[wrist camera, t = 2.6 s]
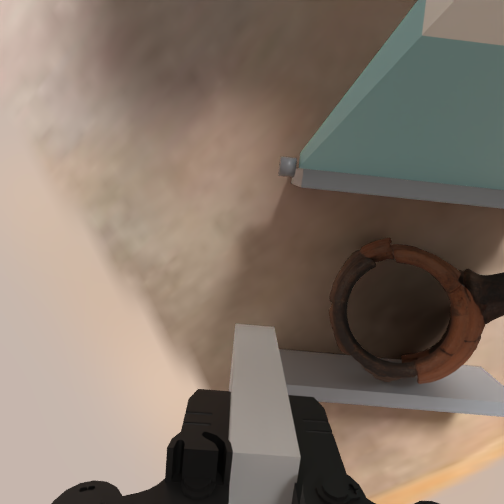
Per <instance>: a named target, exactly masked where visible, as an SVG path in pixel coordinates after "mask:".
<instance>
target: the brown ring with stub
mask: <svg viewBox="0 0 504 504" xmlns="http://www.w3.org/2000/svg"><path fill="white" fill-rule="evenodd" d="M391 242H392V240H391V238H384V239H380V240H377V241H374V242H371V243H369V244H367V245H365V246H363V247H361V250H357V251H355V252H354V253H352V255H351V256H350V257H349V258H348V260H347V261H346V262H345V264H344V265H343V267H342V268H341V270H340V271H339V273H338V275H337V277H336V279H335V281H334V283H333V286H332V290H331V293H330V301H331V302H332V304H331V307H330V309H329V316H330V322H331V325H332V329H333V331H334V335H335V338H336V341H337V345H338V347H339V349H340V351H341V352H344V353H345V354H347V355H352V357H353V358H354V359H355V360H356V361H358V362H359V363H360V364H361V365H362V366H363V368H364V369H365V370H366V371H367V372H368V373H370V374H372V375H373V377H374V378H375V379H378V380H381V381H384V382H391V381H394V380H398V379H401V378H411V377H415V376H416V375H417V383H419V384H424V383H430V382H434V381H437V380H440V379H442V378H444V377H446V376H448V375H450V374H452V373H453V372H455V371H456V370H457V369H459V368H460V367H461V366H462V365H463V364H464V363H465V362H466V361H467V360H468V359H469V358H470V356H471V355H472V354H473V352H474V351H475V350H476V348H477V345H478V343H479V341H480V339H481V334H482V331H483V329H484V327H485V324H487V323H489V322H490V321H492V320H494V319H496V318H499V317H501V316H503V315H504V272H503V273H499V274H494V275H479V274H476V273H475V272H473V271H471V270H470V269H466V270H464V271H461V270H457V269H456V268H455V267H453V266H452V265H451V264H449V263H448V262H446V261H444V260H442V259H441V258H440V257H438V256H436V255H434V254H431V253H429V252H427V251H424V250H421V249H419V248H417V247H413V246H408V245H401V244H393V245H391V244H390V243H391ZM387 259H395V260H396V262H398V263H404V264H410V265H414V266H417V267H419V268H421V269H423V270H425V271H427V272H428V273H430V274H431V275H432V276H434V277H435V278H436V279H437V280H438V281H439V283H440V284H441V285H442V287H443V288H444V290H445V291H446V292H447V294H448V297H449V300H450V304H451V307H450V320H449V325H448V327H447V330H446V331H445V333H444V335H443V336H442V338H441V339H440V341H439V342H438V343H436V344H435V345H434V346H432V347H431V348H430V349H427V350H425V351H422V352H418V353H415V354H408V355H402V356H401V359H402V363H395V362H389V361H386V360H382V359H380V358H377V357H375V356H374V355H372V354H370V353H369V352H367V351H366V350H365V349H363V348H362V347H361V345H360V344H359V343H358V342H357V340H356V339H355V338H354V336H353V334H352V332H351V330H350V327H349V324H348V319H347V302H348V299H349V296H350V293H351V291H352V289H353V287H354V285H355V284H356V282H357V281H358V280H359V279H360V278H361V277H362V276H363V275H364V274H365V273H366V272H368V271H369V270H371V269H373V268H374V267H375V266H376V262H379V261H383V260H387Z"/></svg>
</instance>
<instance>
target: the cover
mask: <svg viewBox="0 0 504 504" xmlns="http://www.w3.org/2000/svg"><path fill="white" fill-rule="evenodd" d="M299 168H303V169H312V170H321V171H331V172H340V173H349V174H359V175H368V176H377V177H387V178H396V179H405V180H414V181H424V182H433V183H442V184H452V185H461V186H470V187H480V188H489V189H498V190H504V0H418V1H417V2H416V3H415V5H414V6H413V7H412V8H411V10H410V11H409V12H408V14H407V15H406V16H405V18H404V19H403V20H402V21H401V23H400V24H399V25H398V27H397V28H396V29H395V30H394V32H393V33H392V34H391V36H390V37H389V38H388V40H387V41H386V42H385V43H384V45H383V46H382V47H381V49H380V50H379V51H378V53H377V54H376V55H375V56H374V58H373V59H372V60H371V62H370V63H369V64H368V66H367V67H366V68H365V69H364V71H363V72H362V73H361V75H360V76H359V77H358V78H357V80H356V81H355V82H354V84H353V85H352V86H351V88H350V89H349V90H348V91H347V93H346V94H345V95H344V97H343V98H342V99H341V101H340V102H339V103H338V104H337V106H336V107H335V108H334V110H333V111H332V112H331V114H330V115H329V116H328V117H327V119H326V120H325V121H324V123H323V124H322V125H321V126H320V128H319V129H318V130H317V132H316V133H315V134H314V136H313V137H312V138H311V139H310V141H309V142H308V143H307V145H306V146H305V147H304V149H303V150H302V151H301V152H300V159H299Z"/></svg>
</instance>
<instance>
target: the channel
mask: <svg viewBox="0 0 504 504" xmlns="http://www.w3.org/2000/svg"><path fill="white" fill-rule="evenodd" d="M296 163H297V159H296V158H292V157H282V156H281V158H280V163H279V176H287V177H292V180H291V184H293V185H296V186H299V187H302V188H312V189H321V190H331V191H340V192H350V193H359V194H368V195H378V196H387V197H397V198H406V199H416V200H425V201H435V202H444V203H454V204H463V205H473V206H482V207H492V208H501V209H504V190H498V189H489V188H479V187H470V186H461V185H451V184H442V183H433V182H423V181H414V180H405V179H395V178H386V177H377V176H368V175H358V174H349V173H340V172H330V171H321V170H312V169H300V168H296ZM279 352H280V357H281V362H282V367H283V372H284V377H285V382H286V387H287V392H288V395H295V396H308V397H314V398H315V399H316V400H317V401H318V402H330V403H342V404H354V405H367V406H379V407H391V408H403V409H415V410H427V411H440V412H452V413H464V414H476V415H488V416H500V417H504V386H503V385H502V384H501V383H499V382H498V381H497V380H496V379H495V378H494V377H492V376H491V375H490V374H489V373H488V372H487V371H485V370H484V369H483V368H482V367H478V366H467V365H462V366H461V367H460V368H459V369H457V370H456V371H455V372H453V373H452V374H450V375H448V376H446V377H444V378H442V379H440V380H437V381H434V382H430V383H424V384H419V383H417V375H416V376H415V377H411V378H401V379H398V380H394V381H391V382H384V381H381V380H378V379H375V378H374V377H373V375H372V374H370V373H368V372H367V371H366V370H365V369H364V368H363V366H362V365H361V364H360V363H359V362H358V361H356V360H355V359H354V358H353V357H352V355H341V354H330V353H318V352H307V351H295V350H284V349H279ZM380 359H382V360H386V361H389V362H395V363H402V360H398V359H387V358H380Z"/></svg>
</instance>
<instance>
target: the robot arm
mask: <svg viewBox="0 0 504 504" xmlns="http://www.w3.org/2000/svg"><path fill="white" fill-rule="evenodd" d="M52 504H375V503H373V502H372V501H370V500H368V499H367V498H366V496H365V494H364V492H363V491H362V489H361V487H360V486H359V484H358V483H357V482H355V481H354V480H353V479H352V478H351V477H350V476H348V475H347V474H346V471H345V468H344V465H343V462H342V459H341V456H340V454H339V451H338V448H337V445H336V442H335V439H334V436H333V434H332V430H331V427H330V424H329V423H328V418H327V415H326V413H325V410H324V408H323V407H322V405H321V404H320V403H319V402H318V401H317V400H316V399H315V398H314V397H308V396H295V395H288V392H287V387H286V382H285V377H284V372H283V367H282V362H281V357H280V352H279V347H278V342H277V337H276V332H275V327H271V326H259V325H248V324H236V323H235V333H234V343H233V353H232V363H231V373H230V383H229V391H216V390H204V389H198V390H197V391H196V392H195V393H194V394H193V395H192V396H191V397H190V398H189V400H188V405H187V409H186V414H185V417H184V421H183V426H182V430H181V432H180V433H179V434H177V435H176V436H175V437H174V438H172V440H171V442H170V444H169V445H168V447H167V461H166V476H165V479H164V480H163V481H162V482H160V483H159V484H158V485H156V486H154V487H152V488H151V489H149V490H146V491H142V492H139V493H135V494H130V495H126V496H122V494H121V493H120V491H119V490H118V489H117V487H115V486H114V485H112V484H110V483H108V482H103V481H90V482H84V483H80V484H78V485H76V486H74V487H72V488H70V489H68V490H66V491H65V492H64V493H62V494H61V495H60V496H59V497H58V498H57V499H55V500H54V501H53V503H52ZM415 504H439V503H436V502H433V501H419V502H417V503H415Z"/></svg>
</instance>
